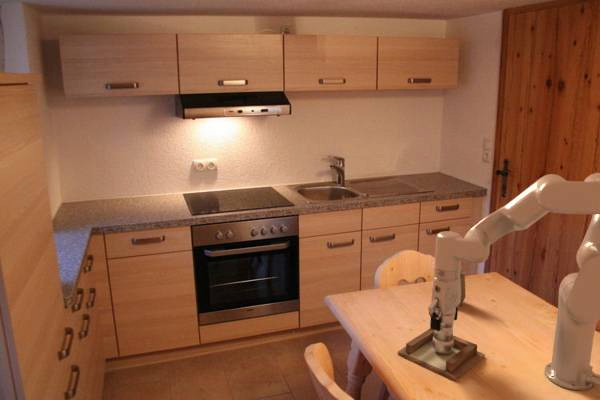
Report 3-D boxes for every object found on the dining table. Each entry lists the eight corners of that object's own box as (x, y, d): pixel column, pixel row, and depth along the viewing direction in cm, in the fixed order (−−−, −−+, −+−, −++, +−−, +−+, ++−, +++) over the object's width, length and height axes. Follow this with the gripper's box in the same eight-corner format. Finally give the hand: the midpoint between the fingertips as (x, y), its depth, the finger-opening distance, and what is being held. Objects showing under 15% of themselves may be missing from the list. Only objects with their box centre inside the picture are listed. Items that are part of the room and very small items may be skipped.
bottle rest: (484, 357, 154) (485, 345, 153) (455, 381, 142) (455, 368, 141) (428, 334, 168) (429, 323, 167) (397, 354, 156) (398, 342, 155)
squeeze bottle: (467, 302, 192) (470, 258, 187) (461, 310, 185) (465, 265, 181) (446, 297, 196) (449, 254, 191) (440, 305, 189) (443, 261, 185)
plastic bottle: (454, 357, 151) (458, 297, 147) (431, 355, 153) (435, 296, 148) (452, 347, 158) (456, 288, 153) (430, 345, 159) (434, 287, 154)
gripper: (442, 284, 140) (439, 338, 144) (472, 268, 152) (468, 318, 156) (420, 276, 146) (417, 329, 150) (450, 261, 157) (447, 311, 161)
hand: (443, 323), depth 153 cm, fingers open, 9 cm apart
